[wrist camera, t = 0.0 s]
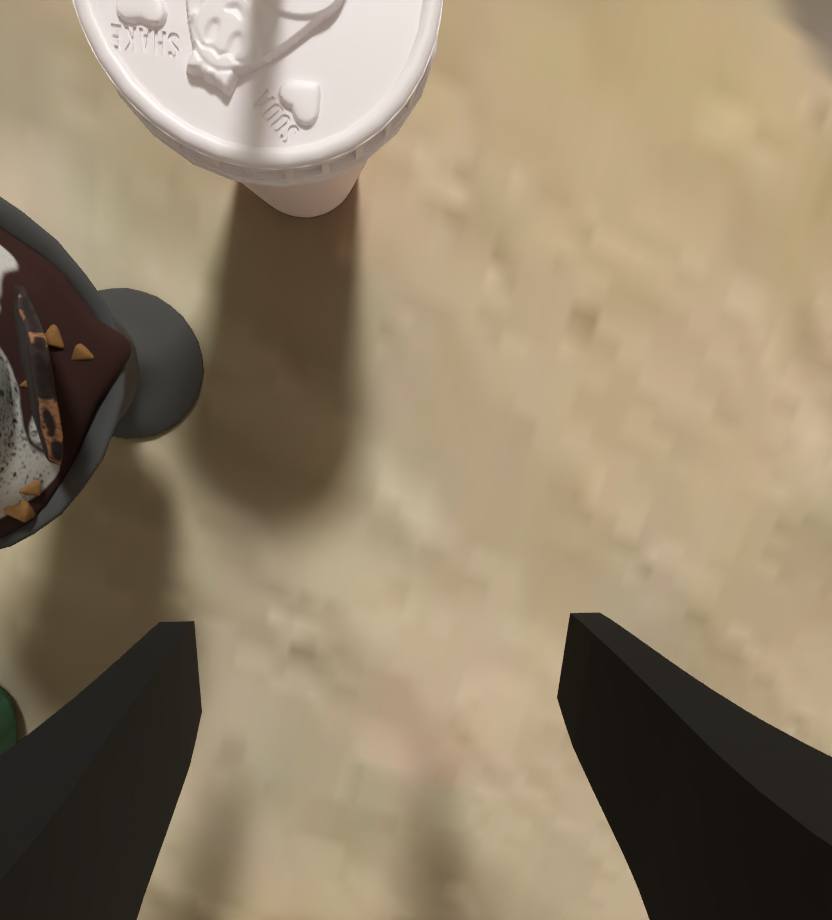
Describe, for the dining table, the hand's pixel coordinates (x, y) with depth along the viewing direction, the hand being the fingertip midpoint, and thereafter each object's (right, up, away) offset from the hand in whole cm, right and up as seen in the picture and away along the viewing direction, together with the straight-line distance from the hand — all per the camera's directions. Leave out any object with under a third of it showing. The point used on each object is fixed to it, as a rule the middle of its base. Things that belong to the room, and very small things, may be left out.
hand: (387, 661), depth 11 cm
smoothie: (-3, +14, +8) cm, 16 cm away
